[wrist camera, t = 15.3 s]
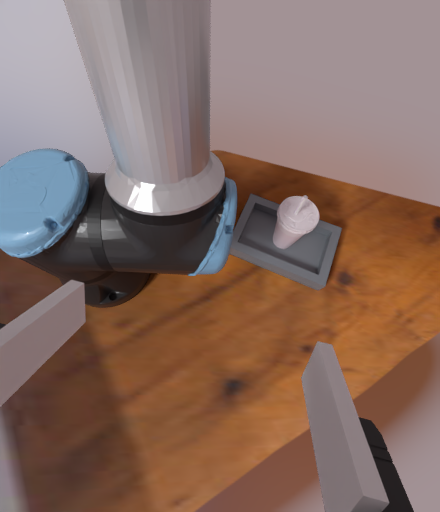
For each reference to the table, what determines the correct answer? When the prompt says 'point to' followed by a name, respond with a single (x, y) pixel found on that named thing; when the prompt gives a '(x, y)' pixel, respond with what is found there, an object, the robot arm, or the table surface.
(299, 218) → the smoothie
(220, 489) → the table surface
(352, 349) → the table surface
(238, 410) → the table surface
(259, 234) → the tray
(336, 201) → the table surface
